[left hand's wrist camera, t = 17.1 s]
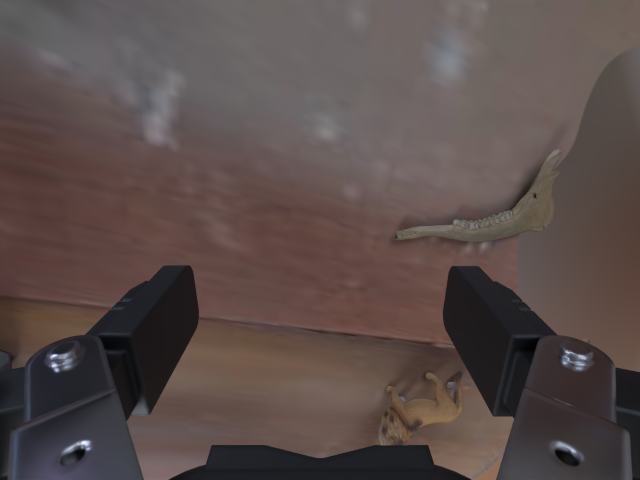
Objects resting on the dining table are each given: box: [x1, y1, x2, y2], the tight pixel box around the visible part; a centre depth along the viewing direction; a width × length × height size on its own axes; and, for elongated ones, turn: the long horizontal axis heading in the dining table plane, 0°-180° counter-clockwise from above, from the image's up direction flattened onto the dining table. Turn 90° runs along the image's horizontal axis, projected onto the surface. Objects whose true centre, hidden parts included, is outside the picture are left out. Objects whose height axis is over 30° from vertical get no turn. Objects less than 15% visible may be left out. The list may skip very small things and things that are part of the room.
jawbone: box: [394, 148, 562, 242], centre depth 43 cm, size 9×20×2 cm, turn 122°
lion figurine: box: [378, 371, 463, 445], centre depth 49 cm, size 15×5×9 cm, turn 121°
